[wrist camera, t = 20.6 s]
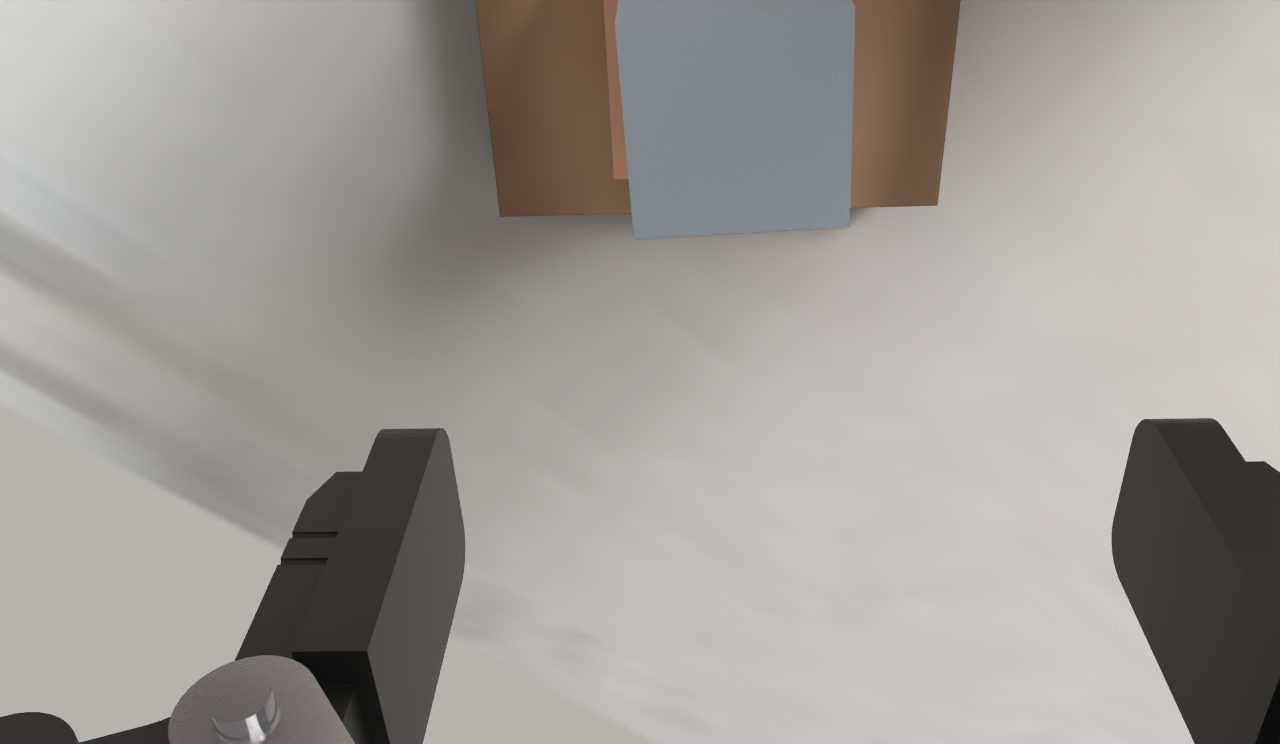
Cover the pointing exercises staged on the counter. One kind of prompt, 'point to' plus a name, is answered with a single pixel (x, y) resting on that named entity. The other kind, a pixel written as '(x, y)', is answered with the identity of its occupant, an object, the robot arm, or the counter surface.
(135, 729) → the robot arm
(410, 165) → the counter surface
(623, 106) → the slate block
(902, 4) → the walnut plinth
